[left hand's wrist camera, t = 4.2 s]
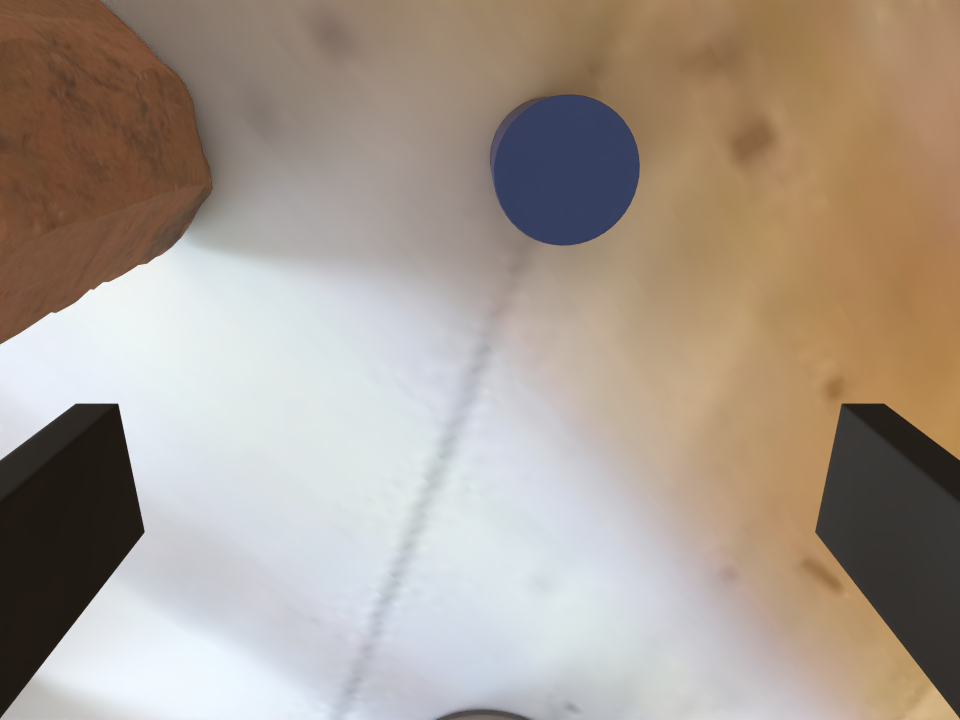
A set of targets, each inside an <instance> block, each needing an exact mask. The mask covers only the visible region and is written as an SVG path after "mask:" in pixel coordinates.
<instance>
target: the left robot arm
mask: <svg viewBox="0 0 960 720" xmlns="http://www.w3.org/2000/svg"><path fill="white" fill-rule="evenodd" d="M144 532H145V531H144V526H143V521H142V516H141V512H140V507H139V502H138V497H137V492H136V487H135V483H134V478H133V473H132V468H131V463H130V458H129V454H128V449H127V444H126V439H125V434H124V429H123V425H122V420H121V415H120V410H119V405H118V404H75V405H73V406H72V407H71V408H69V409H68V410H67V411H65V412H64V413H63V414H62V415H60V416H59V417H58V418H56V419H55V420H54V421H52V422H51V423H50V424H48V425H47V426H46V427H44V428H43V429H42V430H40V431H39V432H38V433H36V434H35V435H34V436H32V437H31V438H30V439H28V440H27V441H26V442H24V443H23V444H22V445H20V446H19V447H18V448H16V449H15V450H14V451H12V452H11V453H10V454H8V455H7V456H6V457H4V458H3V459H2V460H0V718H1V717H2V715H3V714H4V713H5V712H6V710H7V709H8V708H9V706H10V705H11V704H12V702H13V701H14V700H15V699H16V697H17V696H18V695H19V693H20V692H21V691H22V690H23V688H24V687H25V686H26V684H27V683H28V682H29V681H30V679H31V678H32V677H33V675H34V674H35V673H36V672H37V670H38V669H39V668H40V666H41V665H42V664H43V663H44V661H45V660H46V659H47V657H48V656H49V655H50V654H51V652H52V651H53V650H54V648H55V647H56V646H57V644H58V643H59V642H60V641H61V639H62V638H63V637H64V635H65V634H66V633H67V632H68V630H69V629H70V628H71V626H72V625H73V624H74V623H75V621H76V620H77V619H78V617H79V616H80V615H81V614H82V612H83V611H84V610H85V608H86V607H87V606H88V605H89V603H90V602H91V601H92V599H93V598H94V597H95V596H96V594H97V593H98V592H99V590H100V589H101V588H102V587H103V585H104V584H105V583H106V581H107V580H108V579H109V577H110V576H111V575H112V574H113V572H114V571H115V570H116V568H117V567H118V566H119V565H120V563H121V562H122V561H123V559H124V558H125V557H126V556H127V554H128V553H129V552H130V550H131V549H132V548H133V547H134V545H135V544H136V543H137V541H138V540H139V539H140V538H141V536H142V535H143V534H144ZM815 532H816V534H817V535H818V536H819V538H820V539H821V540H822V541H823V543H824V544H825V545H826V547H827V548H828V549H829V550H830V552H831V553H832V554H833V556H834V557H835V558H836V559H837V561H838V562H839V563H840V565H841V566H842V567H843V568H844V570H845V571H846V572H847V574H848V575H849V576H850V577H851V579H852V580H853V581H854V583H855V584H856V585H857V587H858V588H859V589H860V590H861V592H862V593H863V594H864V596H865V597H866V598H867V599H868V601H869V602H870V603H871V605H872V606H873V607H874V608H875V610H876V611H877V612H878V614H879V615H880V616H881V617H882V619H883V620H884V621H885V623H886V624H887V625H888V626H889V628H890V629H891V630H892V632H893V633H894V634H895V635H896V637H897V638H898V639H899V641H900V642H901V643H902V644H903V646H904V647H905V648H906V650H907V651H908V652H909V654H910V655H911V656H912V657H913V659H914V660H915V661H916V663H917V664H918V665H919V666H920V668H921V669H922V670H923V672H924V673H925V674H926V675H927V677H928V678H929V679H930V681H931V682H932V683H933V684H934V686H935V687H936V688H937V690H938V691H939V692H940V693H941V695H942V696H943V697H944V699H945V700H946V701H947V702H948V704H949V705H950V706H951V708H952V709H953V710H954V712H955V713H956V714H957V715H958V717H959V718H960V460H958V459H957V458H956V457H954V456H953V455H952V454H950V453H949V452H948V451H946V450H945V449H944V448H942V447H941V446H940V445H938V444H937V443H936V442H934V441H933V440H932V439H930V438H929V437H928V436H926V435H925V434H924V433H922V432H921V431H920V430H918V429H917V428H916V427H914V426H913V425H912V424H910V423H909V422H908V421H906V420H905V419H904V418H902V417H901V416H900V415H898V414H897V413H896V412H895V411H893V410H892V409H891V408H889V407H888V406H887V405H885V404H842V405H841V410H840V415H839V420H838V425H837V429H836V434H835V439H834V444H833V449H832V454H831V458H830V463H829V468H828V473H827V478H826V483H825V487H824V492H823V497H822V502H821V507H820V512H819V516H818V521H817V526H816V531H815ZM438 720H527V719H524V718H522V717H519V716H516V715H513V714H509V713H504V712H499V711H489V710H475V711H465V712H460V713H455V714H451V715H448V716H445V717H442V718H440V719H438Z"/></svg>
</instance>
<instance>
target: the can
mask: <svg viewBox="0 0 960 720" xmlns="http://www.w3.org/2000/svg"><path fill="white" fill-rule="evenodd" d="M490 164H491V171H492V176H493V181H494V186H495V191H496V194H497V198H498V200H499V203H500V205H501V207H502V209H503V211H504V212H505V214H506V216H507V217H508V218H509V220H510V221H511V222H512V223H513V224H514V225H515V226H516V227H517V228H518V229H519V230H520V231H522V232H523V233H525V234H526V235H528V236H529V237H531V238H533V239H535V240H538V241H540V242H543V243H547V244H552V245H574V244H580V243H583V242H587V241H589V240H592V239H594V238H596V237H598V236H600V235H601V234H603V233H605V232H606V231H607V230H609V229H610V228H611V227H612V226H613V225H614V224H615V223H616V222H617V221H618V220H619V219H620V218H621V217H622V216H623V214H624V213H625V212H626V210H627V208H628V207H629V205H630V203H631V201H632V199H633V197H634V194H635V191H636V188H637V184H638V179H639V166H640V165H639V155H638V150H637V145H636V143H635V140H634V137H633V135H632V133H631V131H630V129H629V127H628V126H627V125H626V123H625V122H624V120H623V119H622V118H621V117H620V116H619V115H618V114H617V113H616V112H615V111H614V110H612V109H611V108H610V107H608V106H607V105H605V104H603V103H602V102H600V101H597V100H595V99H593V98H589V97H585V96H580V95H559V96H551V97H543V98H537V99H534V100H531V101H528V102H526V103H524V104H522V105H520V106H519V107H517V108H516V109H514V110H513V111H512V112H511V113H510V114H509V115H508V116H507V117H506V118H505V119H504V120H503V122H502V123H501V125H500V126H499V128H498V130H497V132H496V134H495V137H494V139H493V143H492V147H491V155H490Z"/></svg>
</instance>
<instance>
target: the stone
mask: <svg viewBox="0 0 960 720" xmlns="http://www.w3.org/2000/svg"><path fill="white" fill-rule="evenodd" d="M211 190H212V182H211V176H210V170H209V165H208V163H207V161H206V159H205V157H204V155H203V150H202V145H201V141H200V138H199V135H198V132H197V128H196V123H195V116H194V109H193V103H192V100H191V97H190V95H189V92H188V90H187V88H186V86H185V84H184V82H183V81H182V80H181V78H180V77H179V76H178V75H177V74H176V73H175V72H174V71H173V70H171V69H170V68H169V67H168V66H166V65H165V64H164V63H163V62H161V61H160V60H159V59H158V58H157V57H156V56H155V54H154V53H153V52H152V51H151V50H150V49H149V48H148V47H147V46H146V45H145V44H144V42H143V41H142V40H141V39H140V38H139V37H138V36H137V35H136V34H135V33H134V32H133V31H132V30H131V29H130V28H129V27H128V26H127V25H126V24H125V23H123V22H122V21H121V20H120V19H119V18H118V17H117V16H116V15H115V14H114V13H113V12H111V11H110V10H109V9H108V8H107V7H106V6H105V5H104V4H103V3H102V2H101V1H99V0H0V344H2V343H3V342H5V341H7V340H9V339H10V338H12V337H14V336H16V335H17V334H19V333H21V332H22V331H24V330H25V329H27V328H28V327H30V326H31V325H33V324H34V323H36V322H37V321H39V320H40V319H42V318H43V317H45V316H46V315H48V314H49V313H51V312H53V313H57V312H59V311H61V310H63V309H64V308H66V307H68V306H70V305H72V304H73V303H75V302H76V301H78V300H79V299H80V298H81V297H82V296H83V295H84V294H85V293H86V292H88V291H89V290H90V289H93V290H94V289H95V288H96V287H98V286H99V285H100V284H101V283H103V282H110V281H112V280H114V279H116V278H118V277H120V276H122V275H123V274H125V273H127V272H128V271H130V270H131V269H133V268H135V267H136V266H137V265H141V264H147V263H148V262H150V261H151V260H152V259H154V258H155V257H157V256H160V255H162V254H163V253H164V252H166V251H167V250H168V249H170V248H171V247H172V246H173V245H174V244H175V243H176V242H177V241H178V240H179V239H180V238H181V237H182V235H183V234H184V232H185V231H186V229H187V228H188V226H189V225H190V223H191V222H192V220H193V218H194V216H195V214H196V212H197V210H198V209H199V207H200V206H201V204H202V203H203V202H204V201H205V199H206V198H207V197H208V196H209V195H210V193H211Z"/></svg>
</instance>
